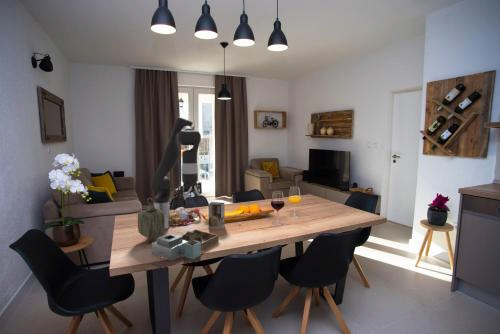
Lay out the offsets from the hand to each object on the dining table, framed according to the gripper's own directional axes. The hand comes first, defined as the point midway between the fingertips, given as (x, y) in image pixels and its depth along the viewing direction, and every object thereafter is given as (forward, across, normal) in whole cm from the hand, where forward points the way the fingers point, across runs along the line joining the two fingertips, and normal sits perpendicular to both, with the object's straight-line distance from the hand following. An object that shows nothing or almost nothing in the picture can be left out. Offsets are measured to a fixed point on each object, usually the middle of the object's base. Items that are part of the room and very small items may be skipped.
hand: (190, 204), depth 134 cm
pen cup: (+26, 0, -1) cm, 26 cm away
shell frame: (+26, +13, +8) cm, 31 cm away
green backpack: (+27, +1, +32) cm, 42 cm away
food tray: (+27, +38, +45) cm, 65 cm away
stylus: (+26, 0, -1) cm, 26 cm away
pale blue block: (+26, -4, +11) cm, 29 cm away
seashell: (+27, +12, +8) cm, 30 cm away
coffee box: (+27, +40, +16) cm, 51 cm away
